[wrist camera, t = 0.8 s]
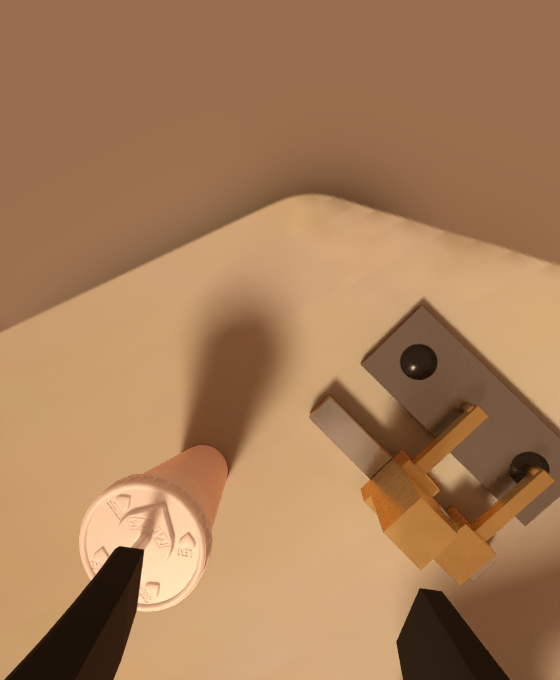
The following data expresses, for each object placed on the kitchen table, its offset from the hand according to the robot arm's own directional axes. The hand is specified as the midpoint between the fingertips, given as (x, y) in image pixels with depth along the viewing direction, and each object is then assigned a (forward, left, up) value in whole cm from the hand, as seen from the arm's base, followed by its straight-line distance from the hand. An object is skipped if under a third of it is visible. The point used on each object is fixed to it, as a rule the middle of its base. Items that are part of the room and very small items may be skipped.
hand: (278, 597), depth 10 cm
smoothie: (+3, +7, -17) cm, 19 cm away
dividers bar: (-7, -5, -17) cm, 19 cm away
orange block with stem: (-7, -5, -16) cm, 18 cm away
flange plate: (-7, -9, -17) cm, 20 cm away
